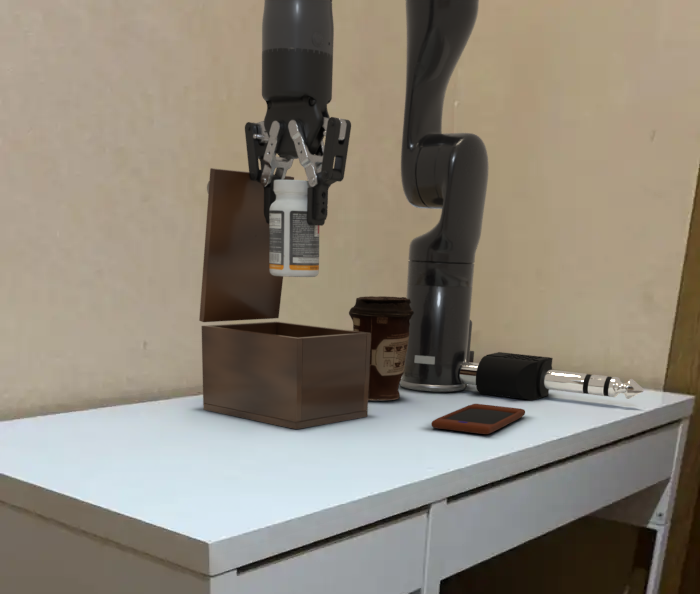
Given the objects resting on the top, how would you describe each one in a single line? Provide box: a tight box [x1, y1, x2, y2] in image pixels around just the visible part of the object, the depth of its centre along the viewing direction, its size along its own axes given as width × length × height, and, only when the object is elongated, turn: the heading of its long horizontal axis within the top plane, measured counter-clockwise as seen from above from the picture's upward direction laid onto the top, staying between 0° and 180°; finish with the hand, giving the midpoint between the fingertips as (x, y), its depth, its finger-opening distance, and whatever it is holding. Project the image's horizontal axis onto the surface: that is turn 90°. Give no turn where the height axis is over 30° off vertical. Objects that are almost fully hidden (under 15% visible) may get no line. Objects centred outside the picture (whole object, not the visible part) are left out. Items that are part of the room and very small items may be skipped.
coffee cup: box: [348, 295, 414, 402], centre depth 124 cm, size 9×8×13 cm
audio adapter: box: [459, 351, 644, 401], centre depth 131 cm, size 11×5×25 cm
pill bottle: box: [269, 179, 321, 278], centre depth 105 cm, size 6×6×10 cm
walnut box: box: [201, 320, 371, 430], centre depth 112 cm, size 16×13×10 cm
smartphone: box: [430, 403, 526, 435], centre depth 112 cm, size 7×1×15 cm
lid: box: [198, 167, 295, 323], centre depth 112 cm, size 16×13×5 cm
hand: (294, 224), depth 105 cm, fingers closed on pill bottle, 5 cm apart
